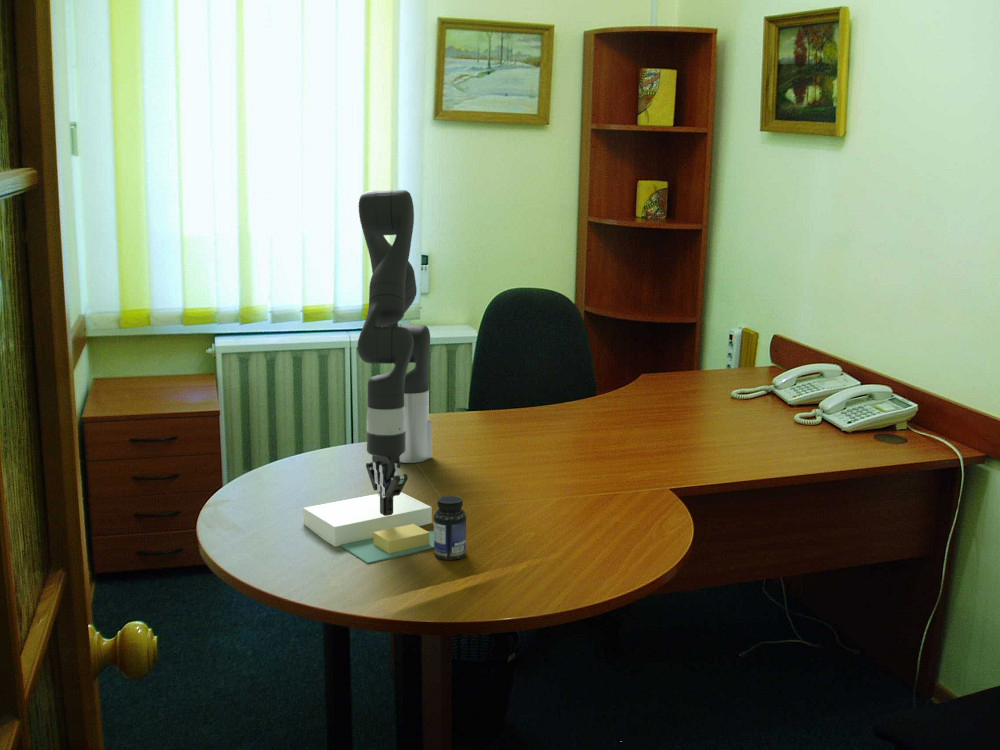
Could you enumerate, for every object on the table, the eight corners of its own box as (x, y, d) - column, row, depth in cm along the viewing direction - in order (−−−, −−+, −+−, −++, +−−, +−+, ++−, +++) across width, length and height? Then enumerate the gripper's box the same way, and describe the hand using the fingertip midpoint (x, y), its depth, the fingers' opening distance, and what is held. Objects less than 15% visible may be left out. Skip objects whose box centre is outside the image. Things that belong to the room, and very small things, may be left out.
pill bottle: (466, 549, 184) (466, 494, 182) (466, 561, 178) (466, 504, 176) (434, 549, 184) (434, 494, 182) (433, 561, 178) (433, 504, 176)
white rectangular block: (397, 507, 208) (397, 490, 207) (431, 525, 197) (431, 507, 196) (303, 526, 195) (303, 507, 194) (334, 546, 184) (334, 526, 183)
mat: (428, 527, 196) (428, 525, 196) (458, 542, 187) (458, 541, 187) (340, 546, 184) (340, 544, 184) (367, 563, 176) (367, 562, 176)
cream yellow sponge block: (429, 532, 185) (429, 544, 185) (413, 523, 190) (413, 535, 190) (388, 541, 180) (388, 553, 180) (373, 532, 185) (373, 544, 185)
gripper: (420, 433, 183) (420, 520, 186) (386, 420, 193) (386, 502, 196) (386, 438, 178) (386, 527, 181) (352, 424, 189) (353, 508, 192)
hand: (386, 514), depth 189 cm, fingers closed
